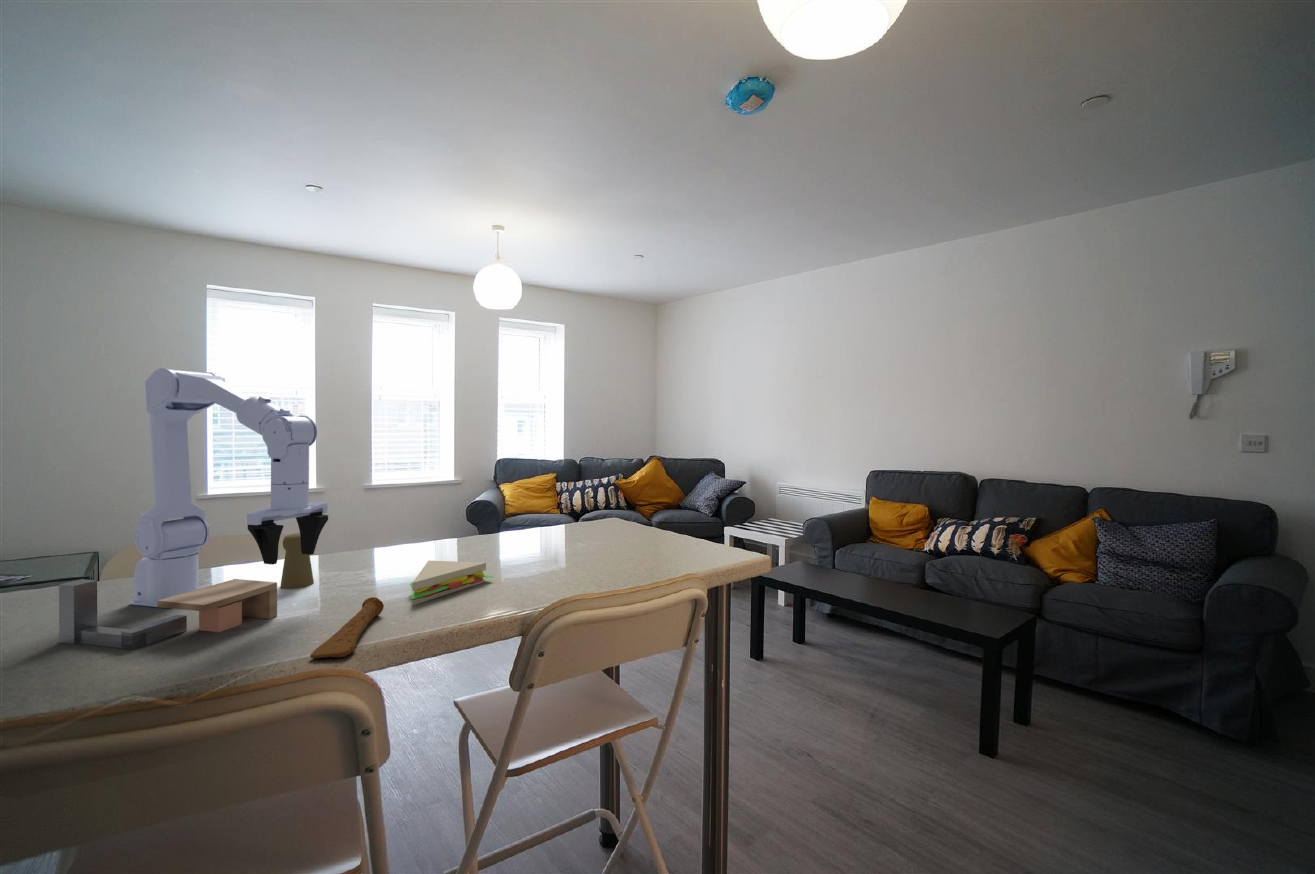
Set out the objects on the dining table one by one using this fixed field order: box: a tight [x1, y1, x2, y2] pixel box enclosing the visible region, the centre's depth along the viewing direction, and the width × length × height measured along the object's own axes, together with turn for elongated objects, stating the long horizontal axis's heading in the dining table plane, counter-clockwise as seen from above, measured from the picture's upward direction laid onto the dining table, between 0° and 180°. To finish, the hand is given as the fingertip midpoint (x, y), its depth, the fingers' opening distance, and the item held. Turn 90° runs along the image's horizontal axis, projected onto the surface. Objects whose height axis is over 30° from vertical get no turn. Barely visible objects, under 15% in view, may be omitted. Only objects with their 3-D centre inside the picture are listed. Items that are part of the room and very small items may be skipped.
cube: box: [198, 601, 243, 633], centre depth 94 cm, size 4×4×4 cm
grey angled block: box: [58, 578, 188, 650], centre depth 89 cm, size 14×8×9 cm, turn 78°
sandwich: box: [409, 560, 494, 606], centre depth 115 cm, size 15×20×5 cm
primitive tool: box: [309, 596, 385, 659], centre depth 91 cm, size 19×6×4 cm, turn 6°
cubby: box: [156, 578, 278, 620], centre depth 94 cm, size 9×13×6 cm
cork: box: [280, 532, 315, 590], centre depth 118 cm, size 6×6×11 cm
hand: (289, 558), depth 101 cm, fingers open, 7 cm apart
